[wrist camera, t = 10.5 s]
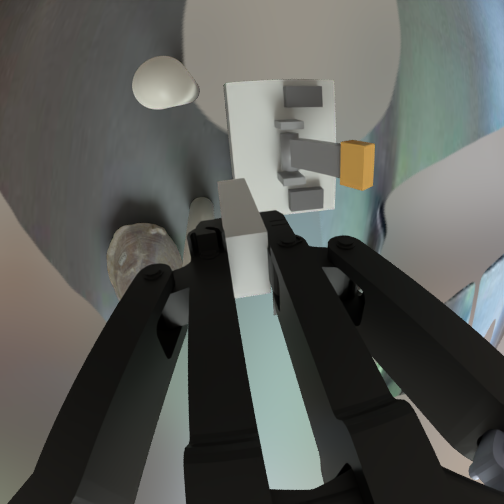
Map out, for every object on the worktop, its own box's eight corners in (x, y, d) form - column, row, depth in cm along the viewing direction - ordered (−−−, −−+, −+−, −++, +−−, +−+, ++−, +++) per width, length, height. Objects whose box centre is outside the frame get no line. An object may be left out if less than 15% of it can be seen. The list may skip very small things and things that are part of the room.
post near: (171, 81, 30) (129, 62, 13) (198, 77, 30) (185, 51, 13) (174, 105, 31) (135, 114, 14) (200, 101, 32) (191, 104, 14)
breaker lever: (275, 133, 29) (364, 146, 22) (288, 131, 30) (374, 143, 23) (277, 169, 31) (362, 190, 24) (290, 165, 32) (372, 185, 25)
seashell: (125, 211, 33) (92, 332, 30) (207, 242, 39) (178, 350, 37) (114, 218, 40) (87, 315, 38) (181, 243, 47) (157, 332, 44)
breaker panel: (223, 85, 31) (227, 81, 24) (318, 81, 32) (345, 79, 25) (235, 205, 39) (242, 231, 32) (320, 195, 40) (344, 218, 33)
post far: (188, 198, 38) (174, 292, 20) (212, 195, 38) (217, 287, 21) (191, 220, 39) (183, 324, 22) (215, 217, 40) (223, 319, 22)
